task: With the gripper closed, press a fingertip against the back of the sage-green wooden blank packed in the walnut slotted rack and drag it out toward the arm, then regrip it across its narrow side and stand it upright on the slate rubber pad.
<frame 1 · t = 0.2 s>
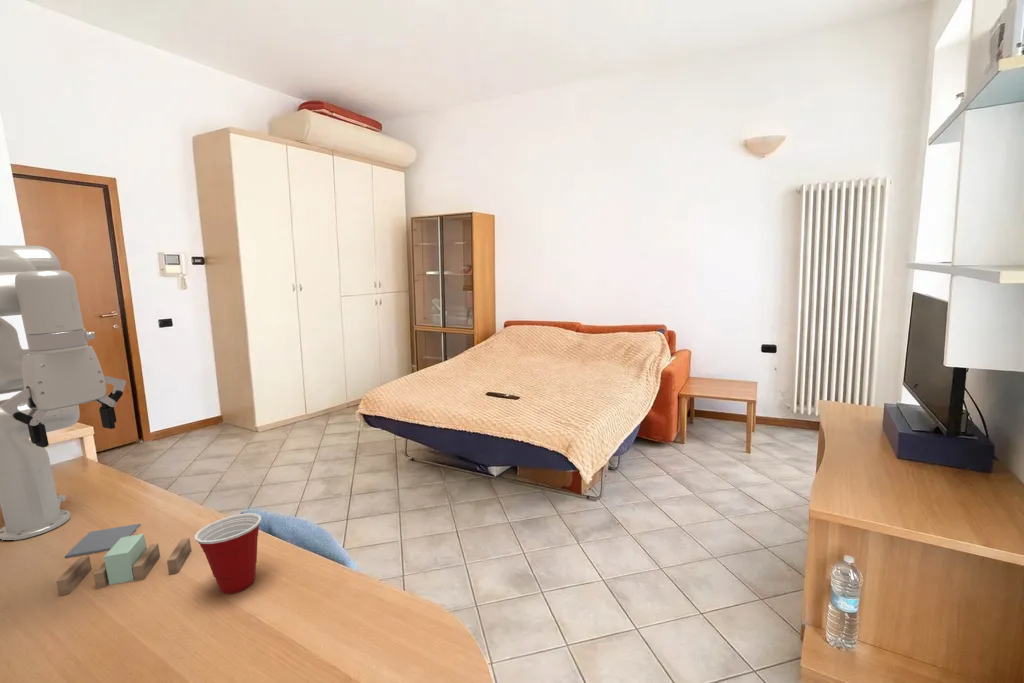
hand: (77, 436, 88), 30 cm above the table, tool pointing down, fingers open, 9 cm apart
rack: (129, 571, 98), on the table
plastic cup: (237, 584, 92), on the table
pad: (104, 540, 110), on the table
blank: (130, 572, 98), on the table
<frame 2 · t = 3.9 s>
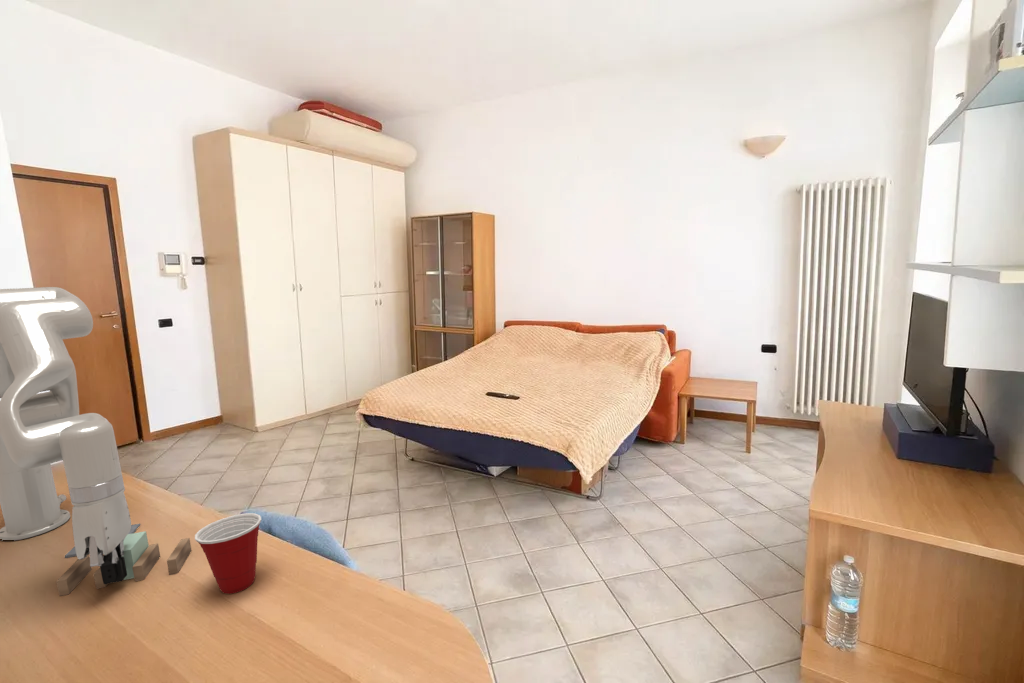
hand: (115, 580, 92), 2 cm above the table, tool pointing down, fingers closed
blank: (132, 569, 99), on the table, touching gripper
everything else where it was.
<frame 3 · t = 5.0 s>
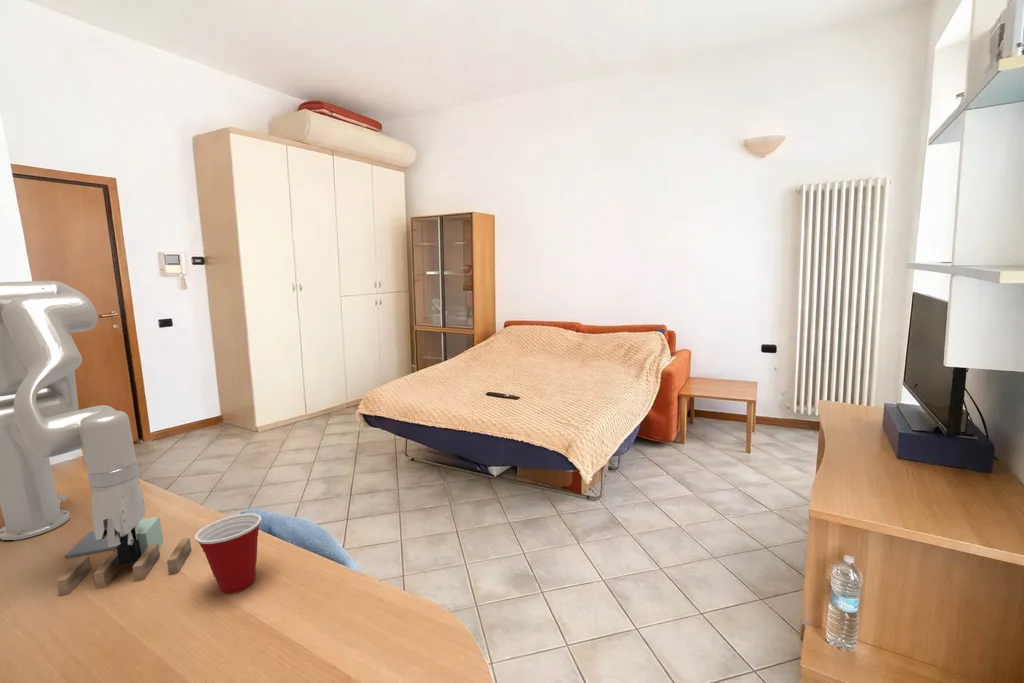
hand: (130, 561, 98), 2 cm above the table, tool pointing down, fingers closed
blank: (146, 552, 104), on the table, touching gripper
everything else where it was.
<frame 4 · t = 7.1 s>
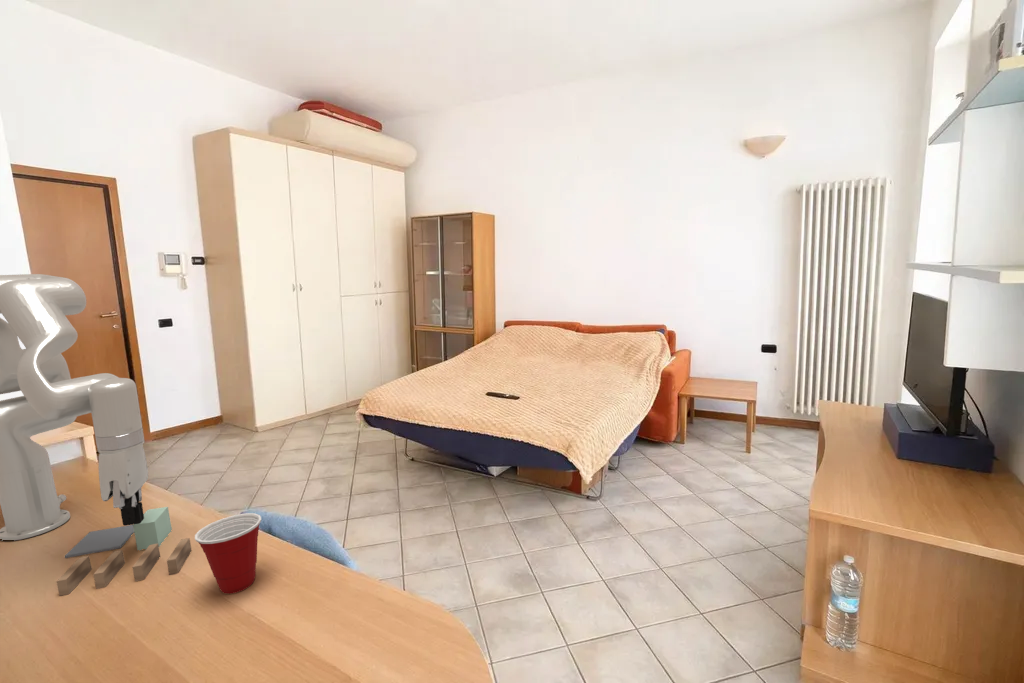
hand: (133, 522, 103), 7 cm above the table, tool pointing down, fingers closed
blank: (155, 540, 109), on the table
everything else where it was.
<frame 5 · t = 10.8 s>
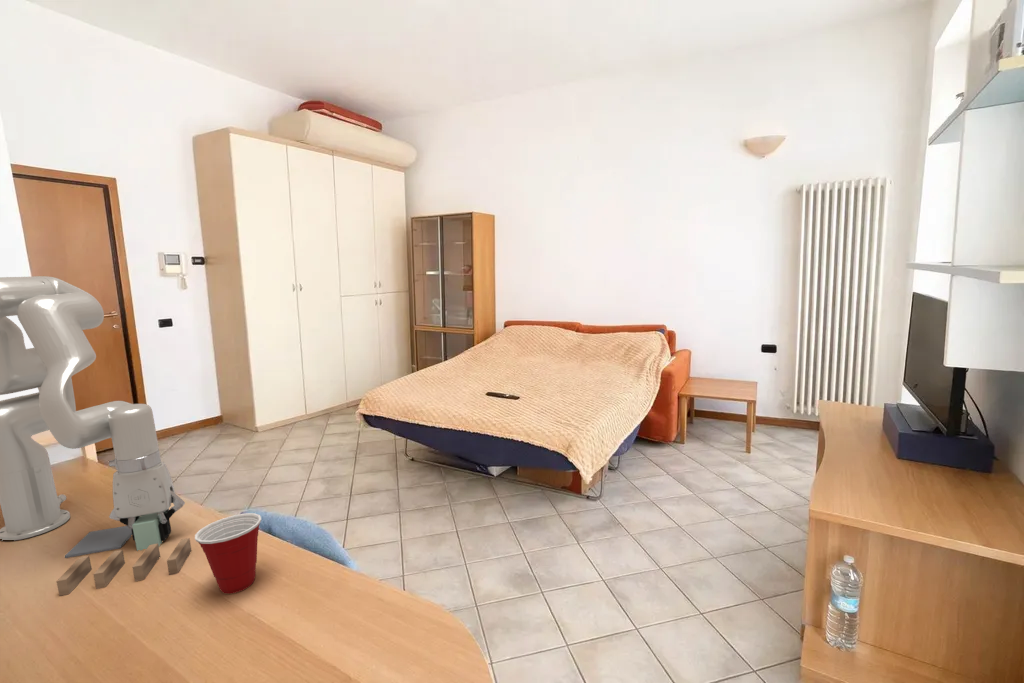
hand: (153, 539, 109), 1 cm above the table, tool pointing down, fingers closed on blank, 4 cm apart
blank: (154, 540, 109), on the table, touching gripper
everything else where it was.
when the fingers open (3 cm above the table, at t = 15.4 s): blank drops 2 cm, resting on pad.
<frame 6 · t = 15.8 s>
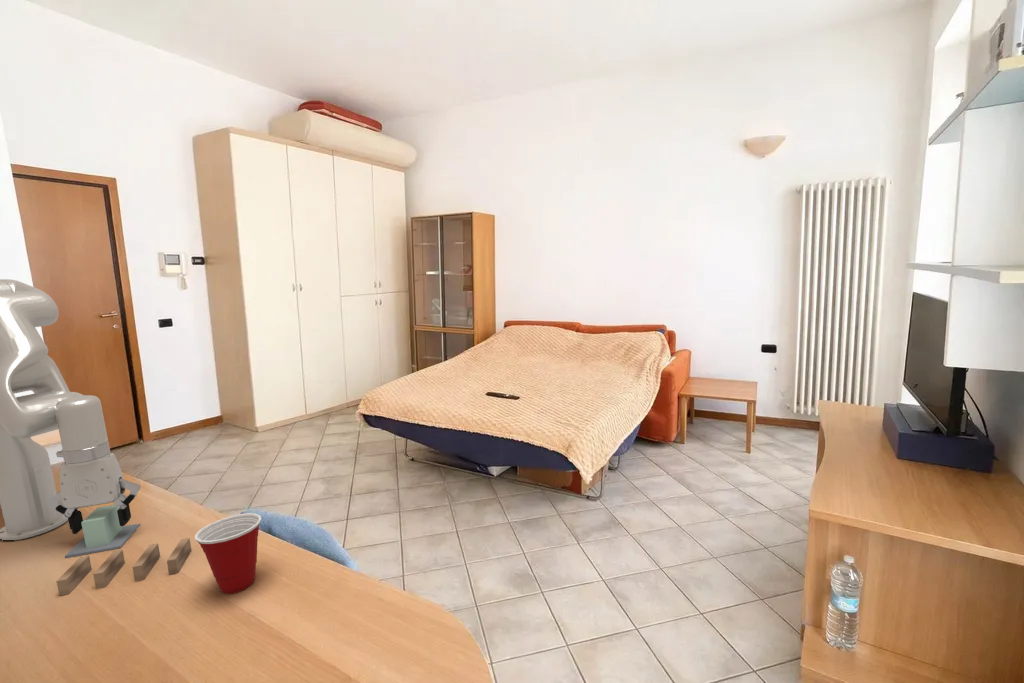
hand: (102, 526, 109), 3 cm above the table, tool pointing down, fingers open, 8 cm apart
blank: (105, 537, 110), resting on pad
everything else where it was.
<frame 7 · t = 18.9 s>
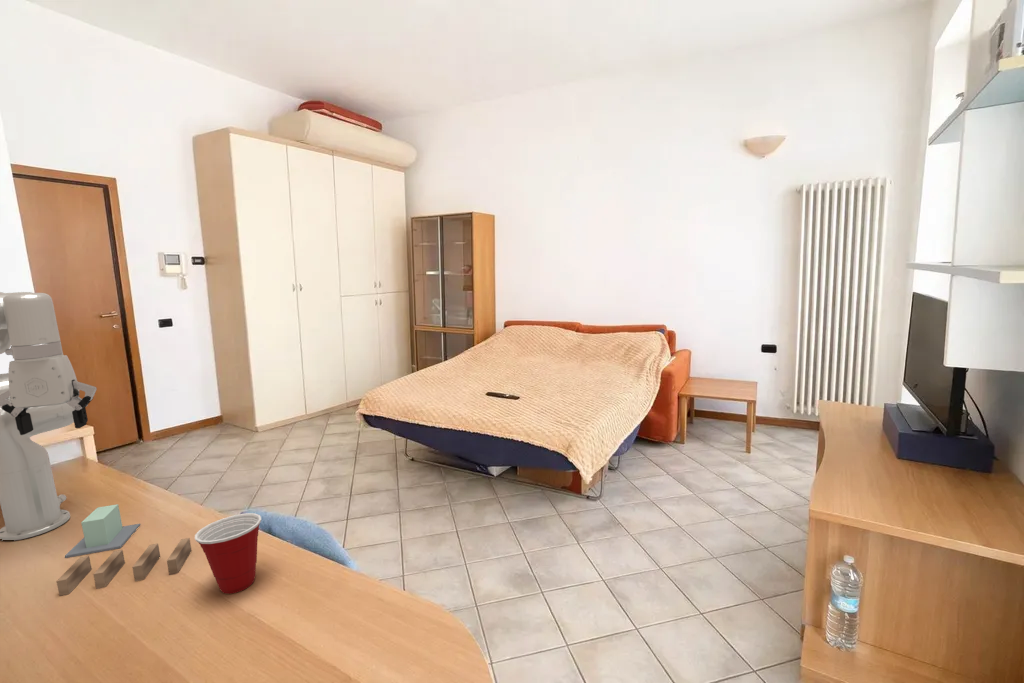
hand: (54, 429, 106), 26 cm above the table, tool pointing down, fingers open, 9 cm apart
nothing on the table moved.
at the end: blank inside the target area on the pad (0.4 cm from its centre), point 0.5 cm above the pad's base; blank tilted 0°; the gripper is holding nothing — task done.
